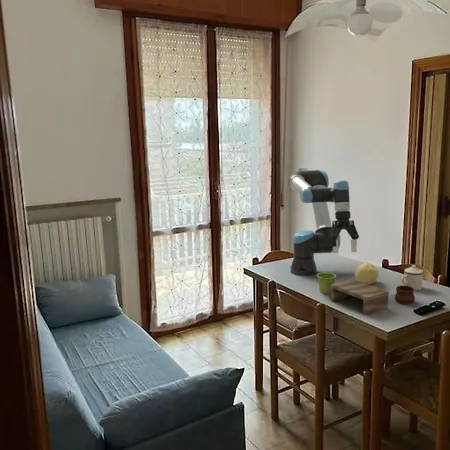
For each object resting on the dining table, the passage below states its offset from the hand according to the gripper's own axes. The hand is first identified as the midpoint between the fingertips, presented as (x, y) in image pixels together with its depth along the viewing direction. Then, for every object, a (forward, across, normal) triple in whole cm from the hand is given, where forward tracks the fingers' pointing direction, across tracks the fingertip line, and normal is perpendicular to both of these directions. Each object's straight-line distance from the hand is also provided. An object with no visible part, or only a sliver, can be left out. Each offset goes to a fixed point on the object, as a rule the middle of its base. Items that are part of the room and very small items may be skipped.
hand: (345, 252), depth 231 cm
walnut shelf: (+24, -11, -15) cm, 30 cm away
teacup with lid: (+20, +27, -18) cm, 38 cm away
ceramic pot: (+24, +9, -26) cm, 37 cm away
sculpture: (+17, +17, +2) cm, 24 cm away
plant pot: (+19, -10, +5) cm, 22 cm away
